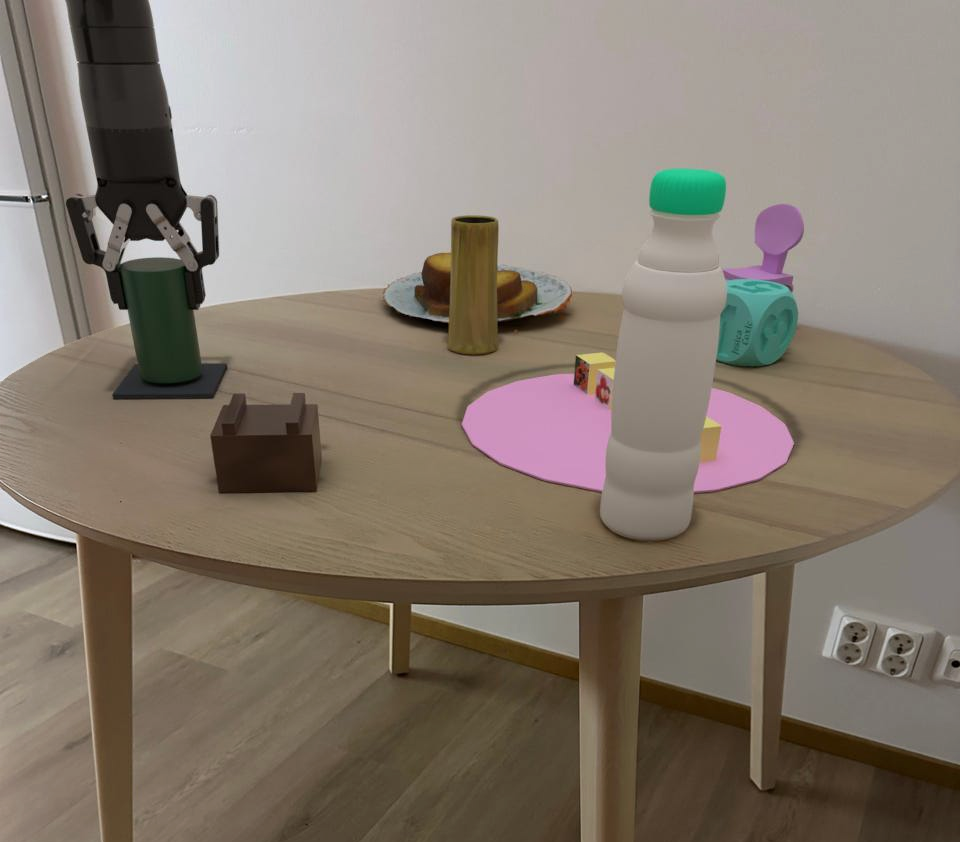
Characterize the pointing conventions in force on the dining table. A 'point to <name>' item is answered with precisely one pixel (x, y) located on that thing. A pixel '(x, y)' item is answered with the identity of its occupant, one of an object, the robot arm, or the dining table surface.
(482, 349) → the vase
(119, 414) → the dining table surface
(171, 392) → the coaster
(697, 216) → the water bottle
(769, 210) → the toy chair
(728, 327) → the decorative dice
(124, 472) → the dining table surface
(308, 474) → the cradle
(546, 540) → the dining table surface
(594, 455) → the platter
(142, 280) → the green can
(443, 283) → the food on plate
